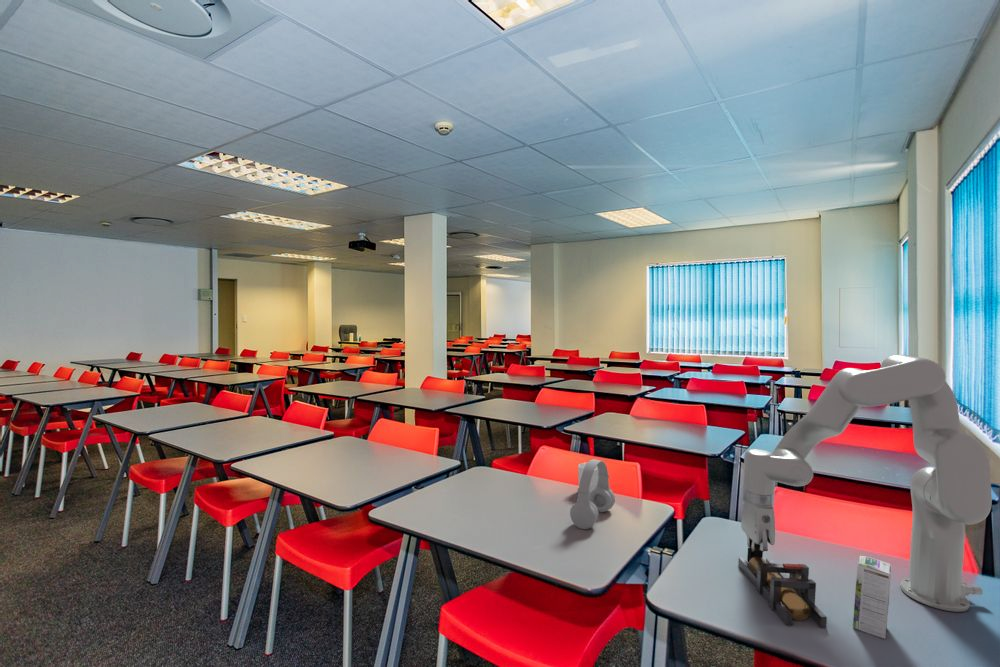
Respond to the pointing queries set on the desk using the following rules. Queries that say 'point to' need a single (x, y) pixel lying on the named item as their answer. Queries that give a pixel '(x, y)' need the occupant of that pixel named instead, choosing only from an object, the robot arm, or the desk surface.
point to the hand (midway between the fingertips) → (754, 563)
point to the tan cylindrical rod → (785, 594)
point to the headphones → (592, 496)
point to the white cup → (593, 480)
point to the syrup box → (872, 596)
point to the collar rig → (795, 581)
